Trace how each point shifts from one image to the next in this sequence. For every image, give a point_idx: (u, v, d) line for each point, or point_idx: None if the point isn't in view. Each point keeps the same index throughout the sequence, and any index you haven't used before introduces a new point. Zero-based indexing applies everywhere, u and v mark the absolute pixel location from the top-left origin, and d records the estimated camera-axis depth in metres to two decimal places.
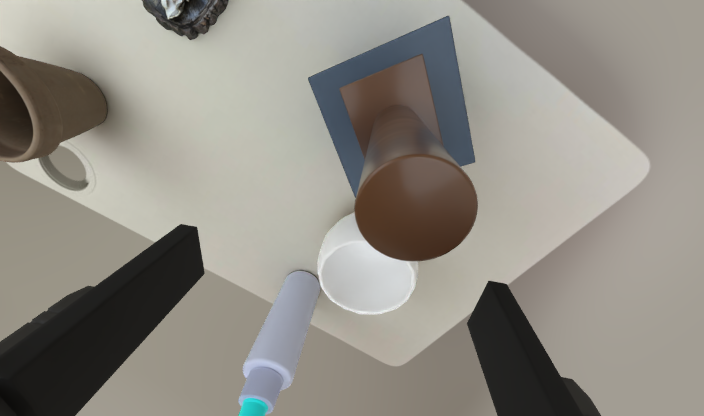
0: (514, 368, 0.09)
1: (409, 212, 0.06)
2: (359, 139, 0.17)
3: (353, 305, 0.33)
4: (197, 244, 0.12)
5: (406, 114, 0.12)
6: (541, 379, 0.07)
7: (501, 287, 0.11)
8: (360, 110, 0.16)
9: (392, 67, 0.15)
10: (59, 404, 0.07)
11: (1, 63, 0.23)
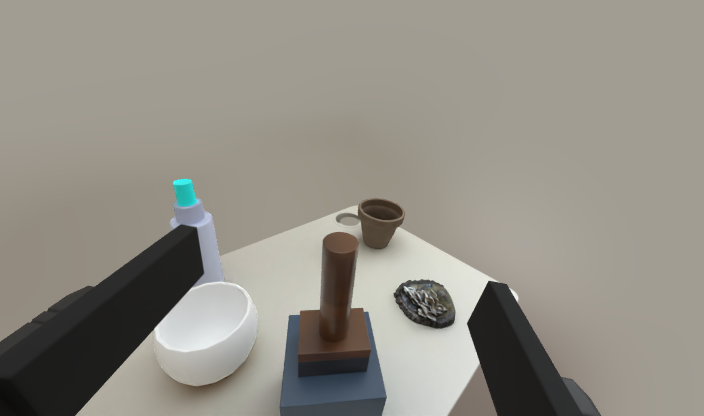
0: (514, 368, 0.09)
1: (341, 240, 0.22)
2: None
3: (183, 298, 0.37)
4: (197, 244, 0.12)
5: (350, 305, 0.25)
6: (541, 379, 0.07)
7: (501, 287, 0.11)
8: (349, 314, 0.29)
9: (367, 333, 0.27)
10: (59, 404, 0.07)
11: (394, 221, 0.59)
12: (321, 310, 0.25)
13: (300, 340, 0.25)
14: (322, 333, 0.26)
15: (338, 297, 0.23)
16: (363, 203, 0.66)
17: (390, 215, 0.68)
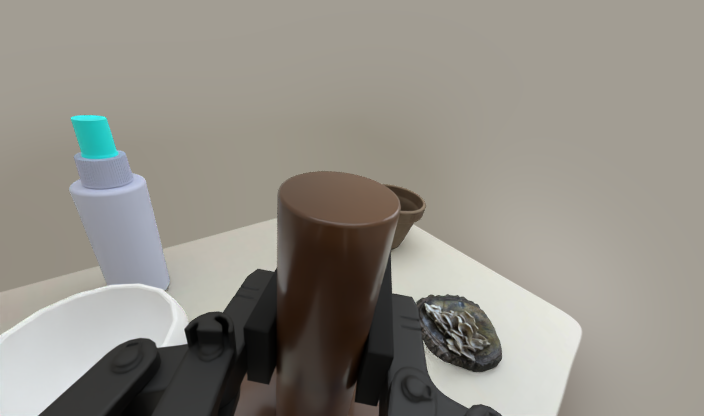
0: None
1: (344, 190, 0.07)
2: None
3: (63, 309, 0.21)
4: None
5: (356, 379, 0.09)
6: None
7: None
8: None
9: None
10: (272, 359, 0.09)
11: (412, 213, 0.44)
12: (276, 387, 0.09)
13: None
14: None
15: (324, 369, 0.07)
16: None
17: (405, 207, 0.53)
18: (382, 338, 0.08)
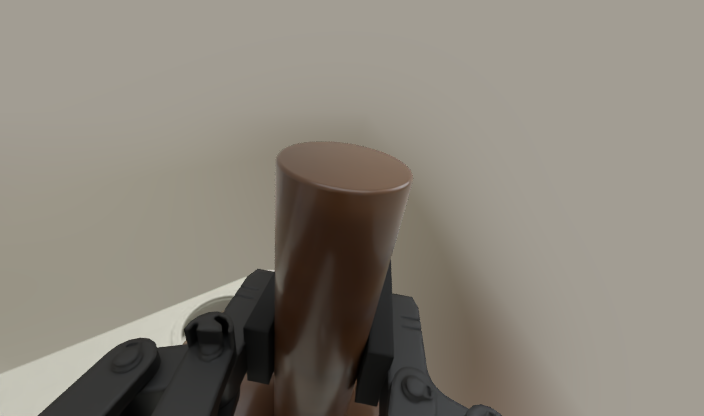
0: None
1: (350, 159, 0.06)
2: None
3: None
4: None
5: None
6: None
7: None
8: None
9: None
10: (272, 359, 0.09)
11: None
12: (274, 374, 0.09)
13: None
14: None
15: (324, 356, 0.07)
16: None
17: None
18: (382, 338, 0.08)
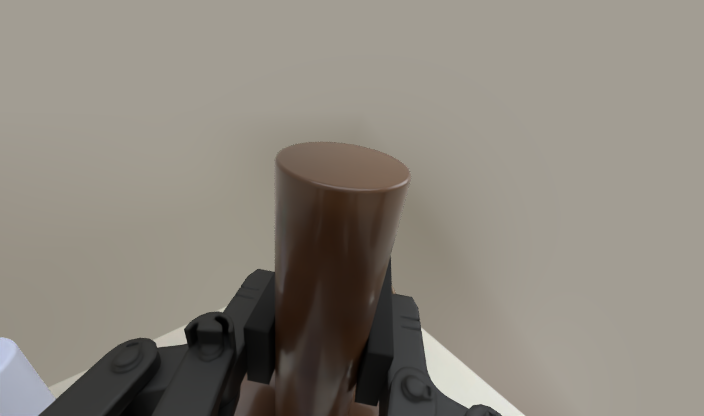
0: None
1: (348, 158, 0.06)
2: None
3: None
4: None
5: (359, 368, 0.09)
6: None
7: None
8: None
9: None
10: (272, 359, 0.09)
11: None
12: (275, 375, 0.09)
13: None
14: None
15: (324, 355, 0.07)
16: None
17: None
18: (382, 338, 0.08)
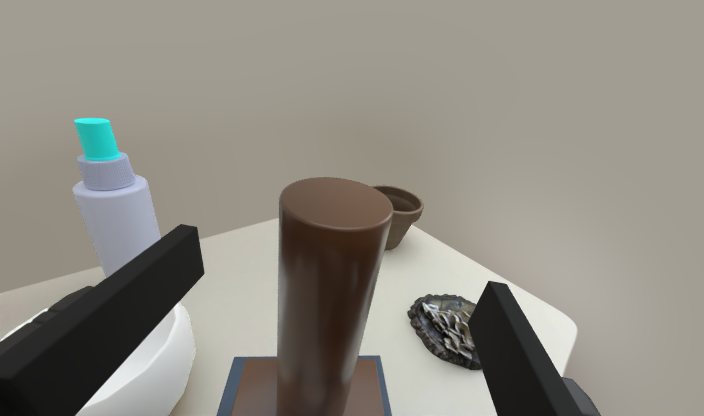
0: (514, 368, 0.09)
1: (341, 196, 0.07)
2: None
3: None
4: (197, 244, 0.12)
5: (353, 374, 0.10)
6: (541, 379, 0.07)
7: (501, 287, 0.11)
8: None
9: None
10: (59, 404, 0.07)
11: (410, 214, 0.45)
12: (277, 380, 0.10)
13: None
14: None
15: (321, 363, 0.08)
16: None
17: (403, 208, 0.53)
18: None
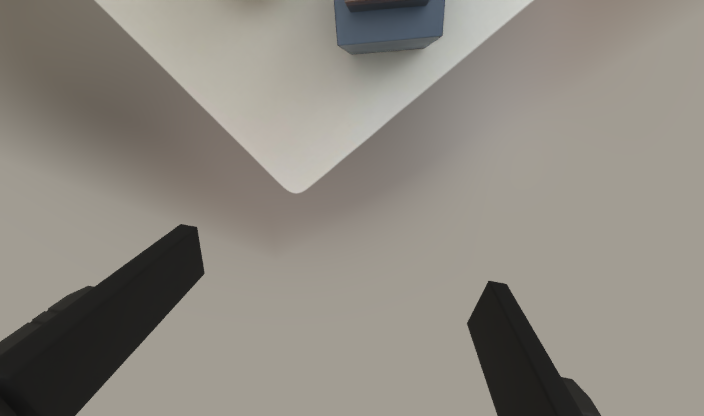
0: (514, 368, 0.09)
1: None
2: None
3: None
4: (197, 244, 0.12)
5: None
6: (541, 379, 0.07)
7: (501, 287, 0.11)
8: None
9: None
10: (59, 404, 0.07)
11: None
12: None
13: None
14: None
15: None
16: None
17: None
18: None
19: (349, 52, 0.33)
